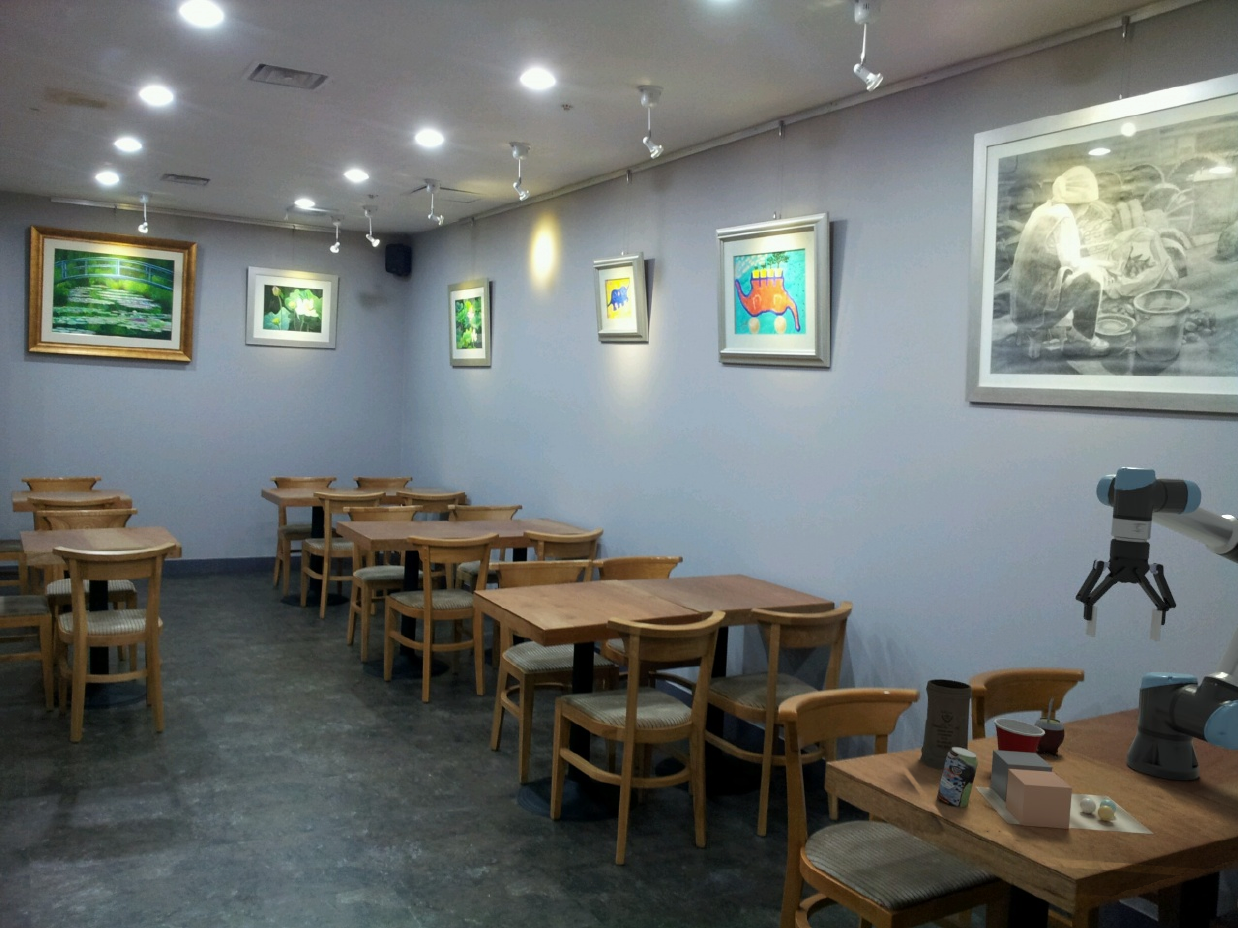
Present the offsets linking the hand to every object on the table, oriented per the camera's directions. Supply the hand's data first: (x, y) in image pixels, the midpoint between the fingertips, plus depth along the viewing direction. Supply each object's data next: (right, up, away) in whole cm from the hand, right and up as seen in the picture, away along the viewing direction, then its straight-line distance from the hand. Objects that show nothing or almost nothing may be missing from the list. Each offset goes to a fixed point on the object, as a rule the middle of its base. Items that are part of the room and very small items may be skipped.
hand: (1122, 637), depth 214 cm
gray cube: (-24, -32, -5) cm, 41 cm away
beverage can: (-40, -33, -10) cm, 52 cm away
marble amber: (-12, -34, -16) cm, 39 cm away
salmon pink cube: (-26, -33, -17) cm, 45 cm away
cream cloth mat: (-19, -34, -11) cm, 40 cm away
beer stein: (-34, -32, +16) cm, 49 cm away
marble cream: (-14, -33, -13) cm, 38 cm away
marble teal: (-10, -34, -13) cm, 37 cm away
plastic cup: (-19, -34, +11) cm, 40 cm away
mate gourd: (-3, -34, +30) cm, 45 cm away
